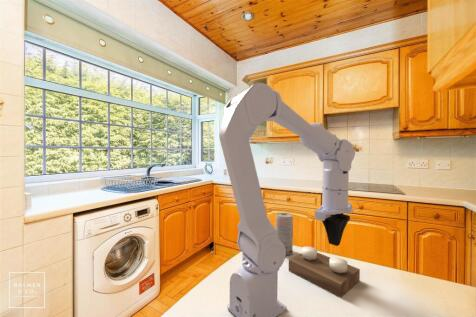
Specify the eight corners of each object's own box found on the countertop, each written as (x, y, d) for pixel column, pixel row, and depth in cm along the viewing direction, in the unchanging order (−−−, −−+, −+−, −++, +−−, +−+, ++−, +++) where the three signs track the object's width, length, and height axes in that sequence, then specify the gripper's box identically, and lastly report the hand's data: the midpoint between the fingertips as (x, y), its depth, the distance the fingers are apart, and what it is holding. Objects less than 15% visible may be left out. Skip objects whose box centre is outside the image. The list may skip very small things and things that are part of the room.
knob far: (311, 274, 56) (311, 254, 56) (298, 267, 59) (298, 249, 59) (319, 269, 58) (319, 250, 58) (306, 263, 61) (306, 245, 61)
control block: (340, 297, 47) (340, 284, 47) (288, 270, 58) (288, 259, 58) (359, 281, 53) (359, 269, 53) (309, 259, 64) (309, 249, 64)
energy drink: (291, 248, 71) (291, 212, 71) (293, 256, 66) (294, 217, 66) (274, 247, 72) (275, 212, 72) (276, 255, 67) (276, 216, 66)
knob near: (342, 289, 49) (342, 267, 49) (325, 281, 53) (326, 260, 52) (350, 282, 52) (350, 261, 52) (333, 275, 55) (334, 255, 55)
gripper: (336, 194, 45) (335, 259, 45) (365, 188, 54) (364, 242, 54) (307, 190, 50) (306, 247, 50) (337, 185, 59) (336, 233, 59)
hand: (334, 244), depth 52 cm, fingers closed
